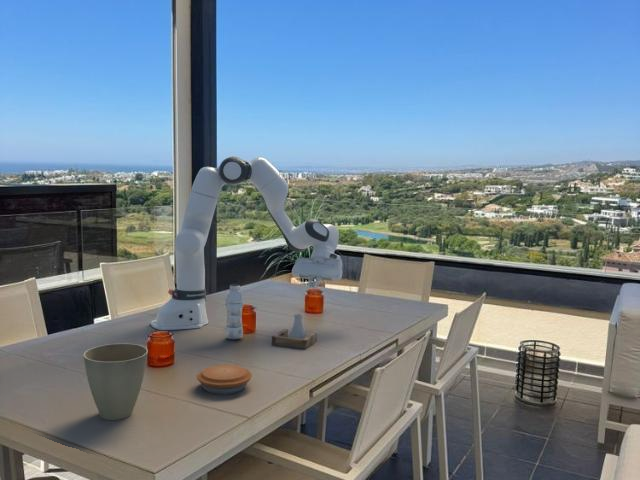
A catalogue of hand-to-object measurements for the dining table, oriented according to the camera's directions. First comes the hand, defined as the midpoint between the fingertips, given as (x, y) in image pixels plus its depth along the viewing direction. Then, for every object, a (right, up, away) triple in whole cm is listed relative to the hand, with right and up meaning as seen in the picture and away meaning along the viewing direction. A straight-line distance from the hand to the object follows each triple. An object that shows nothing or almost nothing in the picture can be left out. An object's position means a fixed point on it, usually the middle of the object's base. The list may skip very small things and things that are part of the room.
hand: (312, 286), depth 226 cm
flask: (-5, -19, -12) cm, 24 cm away
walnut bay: (-6, -19, -14) cm, 24 cm away
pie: (-24, -24, -61) cm, 70 cm away
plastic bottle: (-29, -18, -12) cm, 36 cm away
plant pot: (-47, -25, -82) cm, 98 cm away
